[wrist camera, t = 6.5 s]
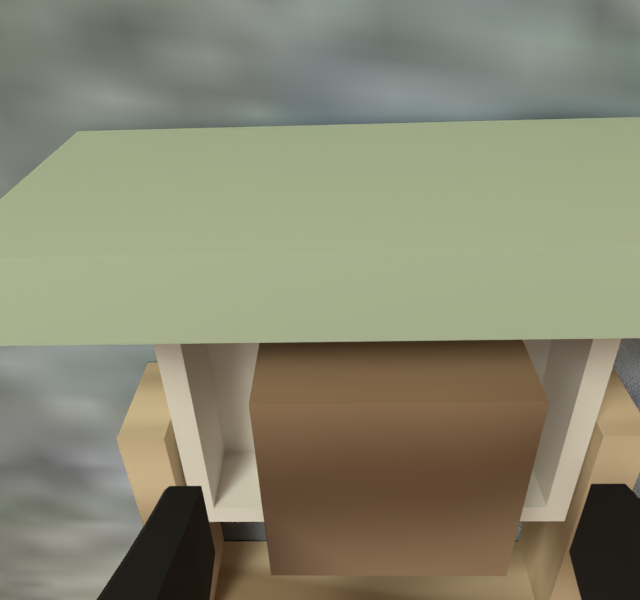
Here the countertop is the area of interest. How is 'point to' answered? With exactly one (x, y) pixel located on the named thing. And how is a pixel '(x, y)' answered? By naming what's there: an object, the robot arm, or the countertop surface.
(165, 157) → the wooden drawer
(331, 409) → the walnut block
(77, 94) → the countertop surface
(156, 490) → the organiser frame
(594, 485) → the robot arm
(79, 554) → the countertop surface
